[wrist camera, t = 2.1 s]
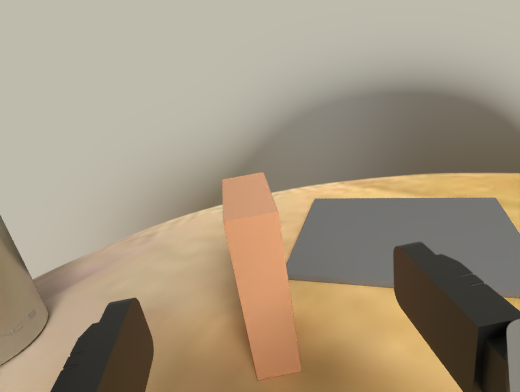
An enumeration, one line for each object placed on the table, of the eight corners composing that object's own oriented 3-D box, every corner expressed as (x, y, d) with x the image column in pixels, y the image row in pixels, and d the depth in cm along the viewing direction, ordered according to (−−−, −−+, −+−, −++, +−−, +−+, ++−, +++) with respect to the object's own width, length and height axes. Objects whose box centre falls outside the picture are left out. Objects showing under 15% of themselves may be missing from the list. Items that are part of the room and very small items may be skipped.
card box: (257, 380, 23) (222, 222, 18) (248, 309, 29) (221, 179, 25) (302, 371, 23) (279, 211, 18) (284, 302, 29) (263, 172, 25)
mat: (283, 278, 32) (282, 273, 32) (315, 202, 47) (315, 198, 47) (558, 301, 25) (559, 294, 25) (495, 202, 39) (495, 197, 39)
